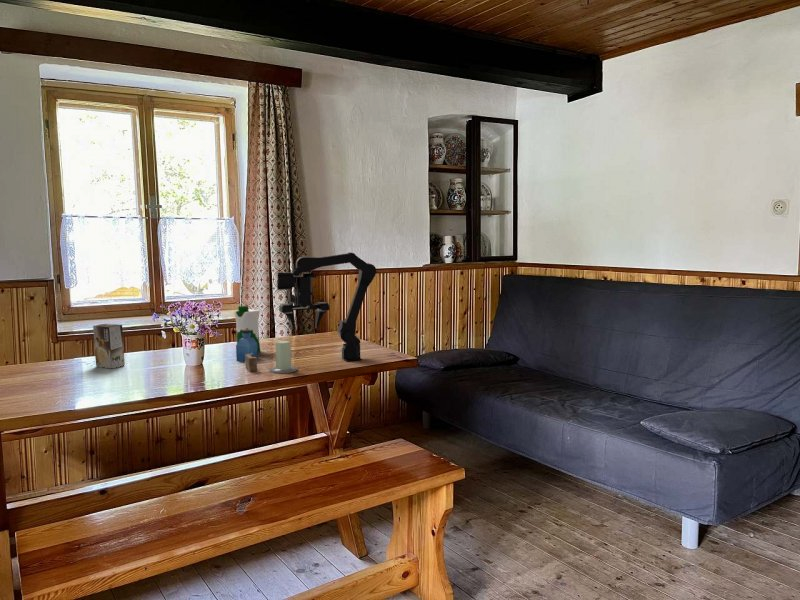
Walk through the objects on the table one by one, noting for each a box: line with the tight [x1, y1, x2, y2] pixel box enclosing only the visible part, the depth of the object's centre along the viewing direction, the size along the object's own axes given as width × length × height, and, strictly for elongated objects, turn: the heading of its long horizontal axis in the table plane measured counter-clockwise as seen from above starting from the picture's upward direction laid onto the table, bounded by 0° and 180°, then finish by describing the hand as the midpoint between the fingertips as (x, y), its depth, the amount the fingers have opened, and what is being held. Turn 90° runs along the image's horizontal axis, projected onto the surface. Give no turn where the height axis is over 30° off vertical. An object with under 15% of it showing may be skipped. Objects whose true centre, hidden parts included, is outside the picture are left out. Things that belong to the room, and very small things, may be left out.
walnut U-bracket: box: [244, 354, 258, 373], centre depth 228 cm, size 3×9×5 cm, turn 24°
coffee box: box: [92, 323, 126, 369], centre depth 234 cm, size 9×6×16 cm
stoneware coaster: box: [269, 365, 298, 374], centre depth 226 cm, size 10×10×1 cm
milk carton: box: [233, 305, 261, 353], centre depth 258 cm, size 9×9×20 cm
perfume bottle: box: [235, 329, 259, 362], centre depth 245 cm, size 6×6×12 cm
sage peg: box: [275, 340, 292, 370], centre depth 226 cm, size 4×4×10 cm
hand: (304, 329), depth 238 cm, fingers open, 9 cm apart
